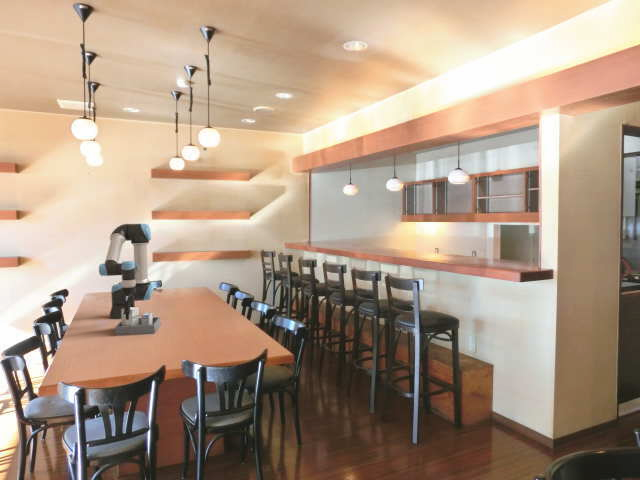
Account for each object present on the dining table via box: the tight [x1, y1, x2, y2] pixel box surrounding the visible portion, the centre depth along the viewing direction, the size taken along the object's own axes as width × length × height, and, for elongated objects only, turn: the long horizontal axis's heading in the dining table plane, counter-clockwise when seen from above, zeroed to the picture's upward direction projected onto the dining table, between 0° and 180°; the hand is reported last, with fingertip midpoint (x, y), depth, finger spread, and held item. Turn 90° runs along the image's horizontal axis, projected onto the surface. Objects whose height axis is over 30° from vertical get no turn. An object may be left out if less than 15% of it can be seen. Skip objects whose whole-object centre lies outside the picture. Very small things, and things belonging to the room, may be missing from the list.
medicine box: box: [141, 312, 153, 325], centre depth 272 cm, size 8×4×9 cm, turn 6°
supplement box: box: [120, 306, 140, 326], centre depth 270 cm, size 7×7×13 cm
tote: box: [114, 316, 162, 337], centre depth 271 cm, size 22×22×5 cm
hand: (130, 322), depth 270 cm, fingers open, 10 cm apart
